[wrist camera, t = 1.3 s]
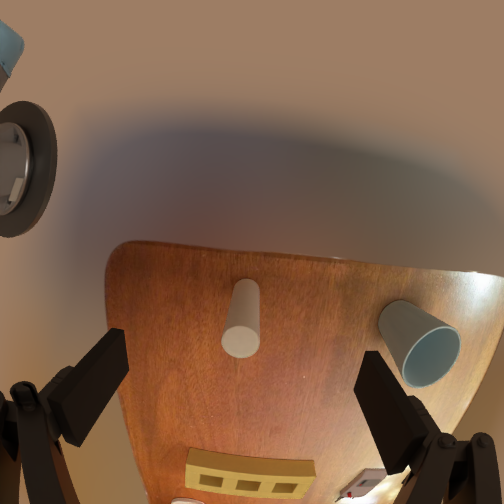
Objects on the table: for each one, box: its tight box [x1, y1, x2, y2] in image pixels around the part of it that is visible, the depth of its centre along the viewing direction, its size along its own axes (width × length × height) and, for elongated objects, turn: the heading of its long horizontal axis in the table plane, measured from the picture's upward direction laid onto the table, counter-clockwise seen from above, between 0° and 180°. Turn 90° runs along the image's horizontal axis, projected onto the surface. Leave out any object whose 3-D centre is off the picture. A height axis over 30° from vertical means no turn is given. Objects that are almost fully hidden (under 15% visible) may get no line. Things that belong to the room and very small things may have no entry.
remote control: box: [335, 468, 387, 502], centre depth 42 cm, size 7×16×3 cm, turn 159°
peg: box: [221, 279, 260, 358], centre depth 28 cm, size 3×3×12 cm
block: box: [185, 448, 316, 499], centre depth 39 cm, size 9×22×4 cm, turn 80°
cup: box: [378, 300, 461, 388], centre depth 29 cm, size 8×8×10 cm
